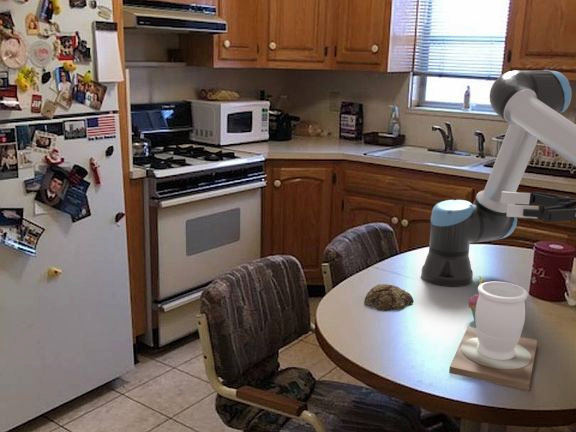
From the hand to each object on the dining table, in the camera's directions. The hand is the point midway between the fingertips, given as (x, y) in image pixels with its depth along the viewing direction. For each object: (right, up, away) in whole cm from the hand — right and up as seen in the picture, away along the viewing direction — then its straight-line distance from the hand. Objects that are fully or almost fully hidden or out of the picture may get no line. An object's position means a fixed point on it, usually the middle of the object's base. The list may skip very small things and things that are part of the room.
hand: (504, 203), depth 146 cm
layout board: (-5, -35, -7) cm, 36 cm away
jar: (-5, -34, -8) cm, 35 cm away
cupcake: (-1, -30, +12) cm, 32 cm away
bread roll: (-24, -27, +24) cm, 43 cm away
